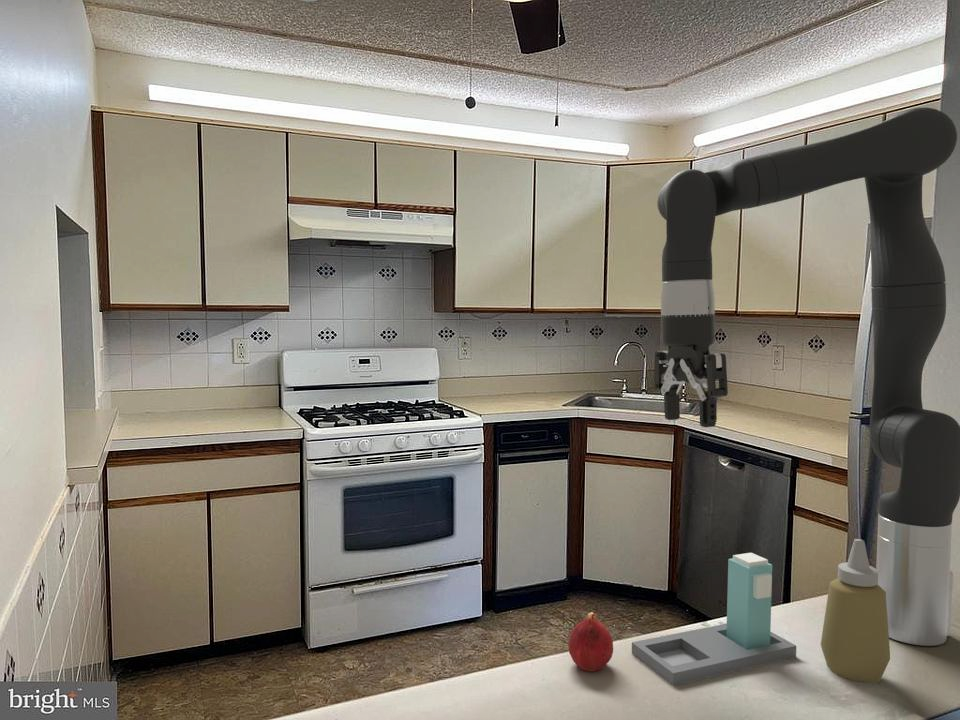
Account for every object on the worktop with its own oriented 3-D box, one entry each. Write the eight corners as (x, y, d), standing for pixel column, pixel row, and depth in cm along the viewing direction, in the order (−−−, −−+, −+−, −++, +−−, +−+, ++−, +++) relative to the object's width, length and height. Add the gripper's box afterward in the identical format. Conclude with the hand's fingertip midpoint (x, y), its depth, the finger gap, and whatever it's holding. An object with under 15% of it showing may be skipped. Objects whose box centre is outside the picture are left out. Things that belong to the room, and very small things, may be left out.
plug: (749, 638, 102) (751, 551, 101) (774, 653, 97) (776, 562, 96) (726, 643, 100) (728, 554, 99) (750, 658, 96) (753, 566, 95)
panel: (747, 635, 105) (748, 619, 105) (795, 663, 96) (796, 645, 96) (631, 660, 97) (631, 642, 97) (672, 692, 89) (673, 673, 89)
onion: (612, 686, 90) (613, 625, 90) (566, 682, 91) (567, 621, 91) (613, 664, 96) (614, 606, 95) (569, 660, 97) (570, 602, 97)
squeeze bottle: (903, 691, 89) (910, 550, 88) (841, 693, 89) (847, 551, 88) (864, 660, 97) (870, 530, 96) (807, 662, 97) (812, 531, 96)
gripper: (742, 310, 99) (743, 427, 100) (680, 312, 112) (681, 415, 113) (696, 312, 96) (698, 432, 97) (638, 314, 110) (640, 419, 111)
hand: (689, 422), depth 105 cm, fingers open, 8 cm apart
